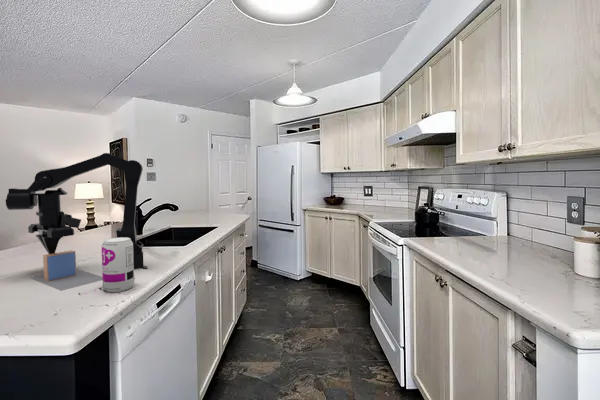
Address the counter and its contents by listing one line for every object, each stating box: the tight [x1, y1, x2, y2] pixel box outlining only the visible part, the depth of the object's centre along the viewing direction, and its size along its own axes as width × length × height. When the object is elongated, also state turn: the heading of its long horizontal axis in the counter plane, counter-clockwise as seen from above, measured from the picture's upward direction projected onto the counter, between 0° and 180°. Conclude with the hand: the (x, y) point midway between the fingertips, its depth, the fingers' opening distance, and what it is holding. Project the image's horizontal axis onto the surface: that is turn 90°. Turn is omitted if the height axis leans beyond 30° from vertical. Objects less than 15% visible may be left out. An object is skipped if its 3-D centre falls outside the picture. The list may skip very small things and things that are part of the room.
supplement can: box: [101, 237, 135, 293], centre depth 95 cm, size 8×8×15 cm
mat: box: [29, 268, 103, 291], centre depth 102 cm, size 22×13×1 cm, turn 59°
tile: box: [42, 249, 77, 281], centre depth 102 cm, size 3×8×8 cm, turn 149°
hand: (51, 255), depth 105 cm, fingers closed
